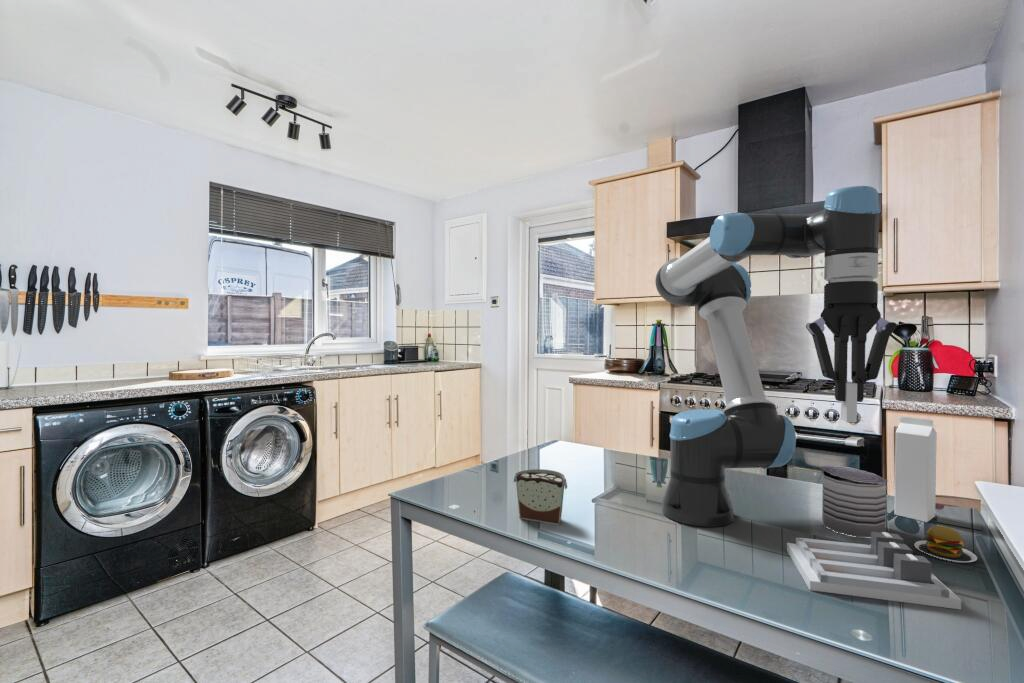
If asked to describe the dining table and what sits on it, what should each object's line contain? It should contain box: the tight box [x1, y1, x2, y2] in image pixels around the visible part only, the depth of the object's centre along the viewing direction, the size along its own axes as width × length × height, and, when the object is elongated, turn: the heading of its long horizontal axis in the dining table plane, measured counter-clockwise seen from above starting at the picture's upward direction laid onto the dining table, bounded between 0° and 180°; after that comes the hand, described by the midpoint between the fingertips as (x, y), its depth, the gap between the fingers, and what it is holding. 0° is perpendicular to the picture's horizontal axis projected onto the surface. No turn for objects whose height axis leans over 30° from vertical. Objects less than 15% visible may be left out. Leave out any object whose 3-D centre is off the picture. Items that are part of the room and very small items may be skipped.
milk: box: [893, 416, 938, 523], centre depth 112 cm, size 6×6×22 cm
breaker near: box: [893, 553, 932, 584], centre depth 79 cm, size 4×2×4 cm, turn 74°
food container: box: [513, 468, 568, 526], centre depth 112 cm, size 12×6×10 cm, turn 65°
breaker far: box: [870, 532, 905, 555], centre depth 87 cm, size 4×2×4 cm, turn 74°
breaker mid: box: [877, 542, 913, 568], centre depth 83 cm, size 4×2×4 cm, turn 74°
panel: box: [786, 537, 962, 610], centre depth 84 cm, size 20×15×3 cm
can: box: [820, 464, 889, 537], centre depth 105 cm, size 11×11×12 cm
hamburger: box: [913, 524, 978, 564], centre depth 93 cm, size 12×12×6 cm
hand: (848, 420), depth 85 cm, fingers closed
